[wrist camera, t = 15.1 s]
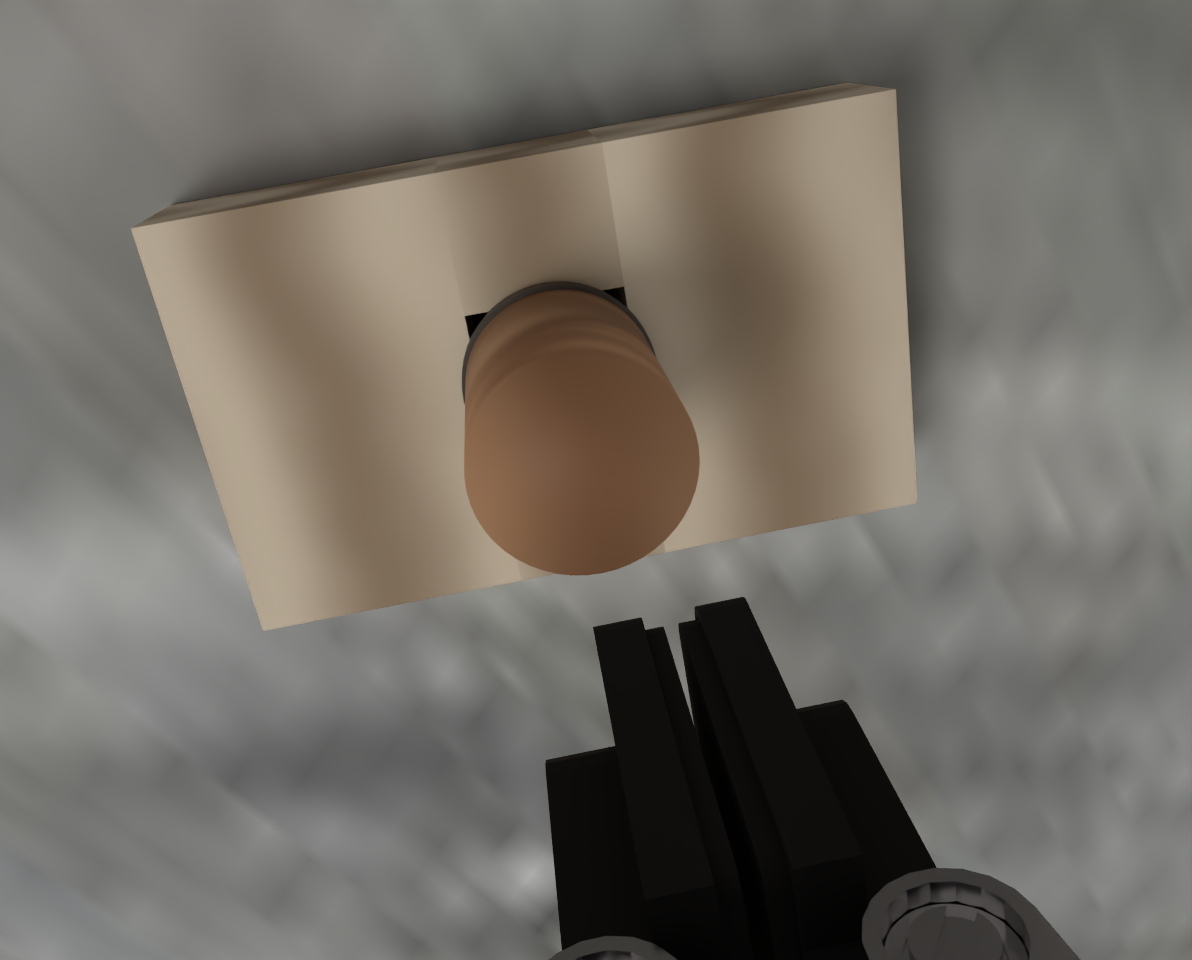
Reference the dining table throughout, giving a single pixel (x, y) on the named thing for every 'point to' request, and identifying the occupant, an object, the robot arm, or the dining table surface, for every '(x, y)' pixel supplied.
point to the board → (516, 261)
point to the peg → (573, 432)
